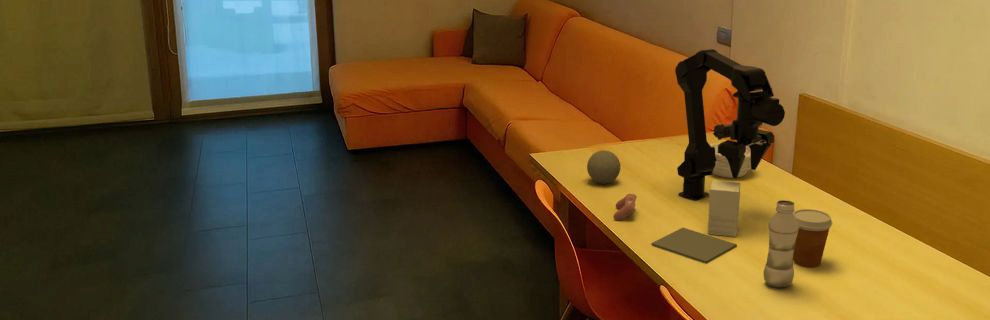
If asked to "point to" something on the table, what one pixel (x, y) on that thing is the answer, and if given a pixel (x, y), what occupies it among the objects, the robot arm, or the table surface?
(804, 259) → the disposable coffee cup
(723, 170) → the paper bowls
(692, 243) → the mat
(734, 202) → the supplement box
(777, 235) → the plastic bottle
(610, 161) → the decorative ball
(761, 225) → the table surface
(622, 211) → the video game controller
